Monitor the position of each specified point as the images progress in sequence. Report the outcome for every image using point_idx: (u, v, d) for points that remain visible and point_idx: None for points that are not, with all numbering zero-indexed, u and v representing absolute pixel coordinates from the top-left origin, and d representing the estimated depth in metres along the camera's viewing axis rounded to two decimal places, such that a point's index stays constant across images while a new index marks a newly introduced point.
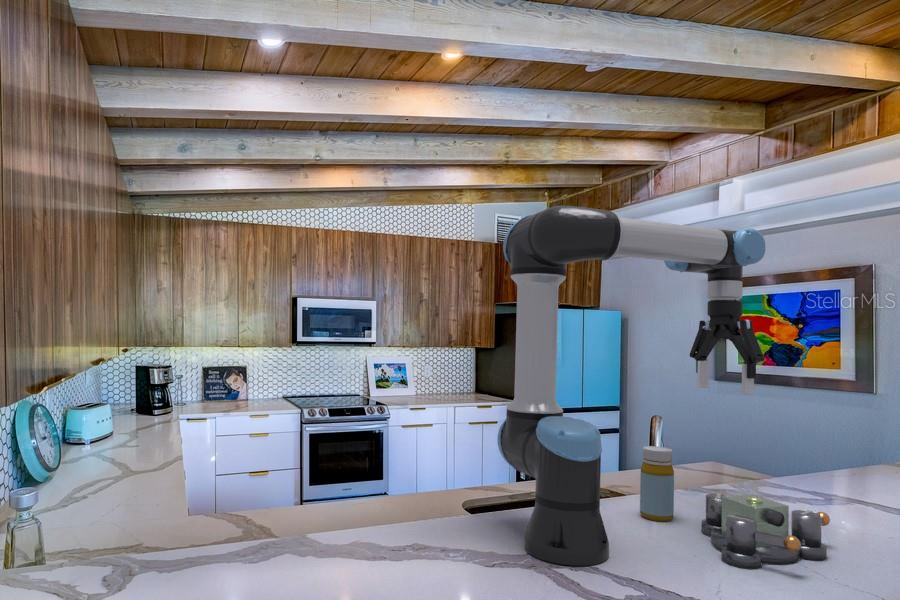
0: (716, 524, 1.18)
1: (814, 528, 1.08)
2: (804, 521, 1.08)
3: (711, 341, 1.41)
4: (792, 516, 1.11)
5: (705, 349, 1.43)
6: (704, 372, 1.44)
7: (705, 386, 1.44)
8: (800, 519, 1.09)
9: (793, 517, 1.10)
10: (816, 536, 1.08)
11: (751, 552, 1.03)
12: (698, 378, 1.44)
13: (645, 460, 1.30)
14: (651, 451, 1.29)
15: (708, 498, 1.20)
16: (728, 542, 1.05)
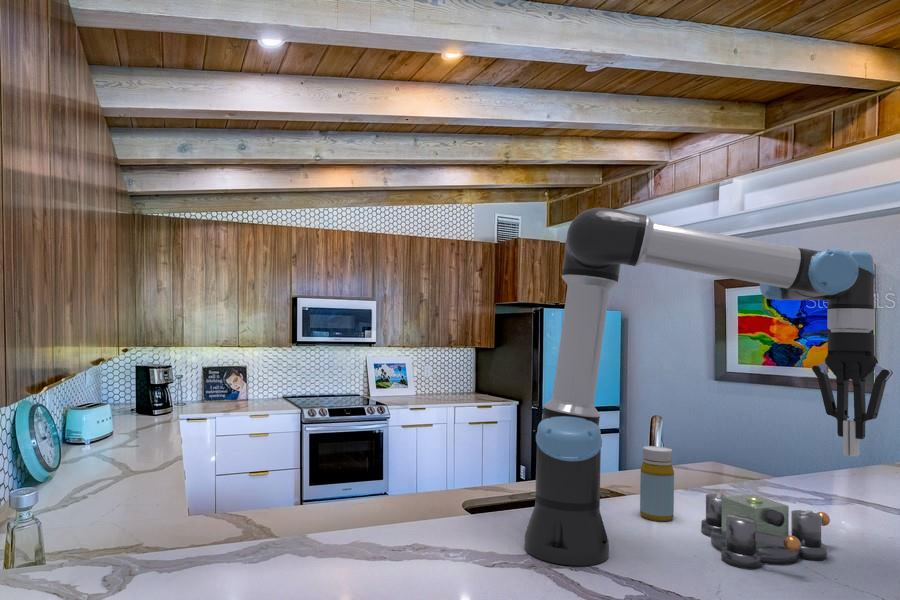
0: (716, 524, 1.18)
1: (814, 528, 1.08)
2: (804, 521, 1.08)
3: (845, 385, 1.13)
4: (792, 516, 1.11)
5: (844, 400, 1.13)
6: (850, 436, 1.13)
7: None
8: (800, 519, 1.09)
9: (793, 517, 1.10)
10: (816, 536, 1.08)
11: (751, 552, 1.03)
12: (844, 443, 1.12)
13: (645, 460, 1.30)
14: (651, 451, 1.29)
15: (708, 498, 1.20)
16: (728, 542, 1.05)
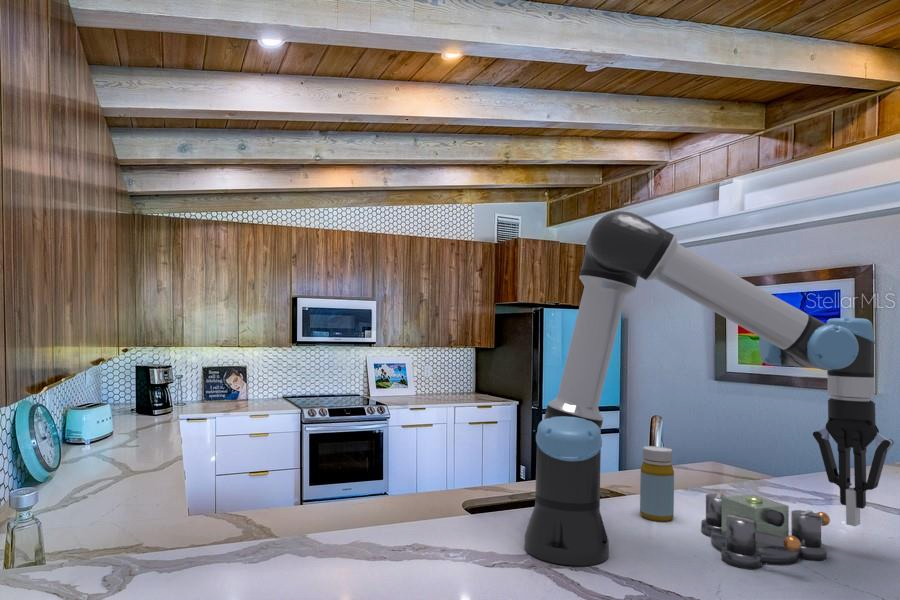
0: (716, 524, 1.18)
1: (814, 528, 1.08)
2: (804, 521, 1.08)
3: (846, 453, 1.12)
4: (792, 516, 1.11)
5: (846, 468, 1.12)
6: None
7: None
8: (800, 519, 1.09)
9: (793, 517, 1.10)
10: (816, 536, 1.08)
11: (751, 552, 1.03)
12: (847, 512, 1.11)
13: (645, 460, 1.30)
14: (651, 451, 1.29)
15: (708, 498, 1.20)
16: (728, 542, 1.05)
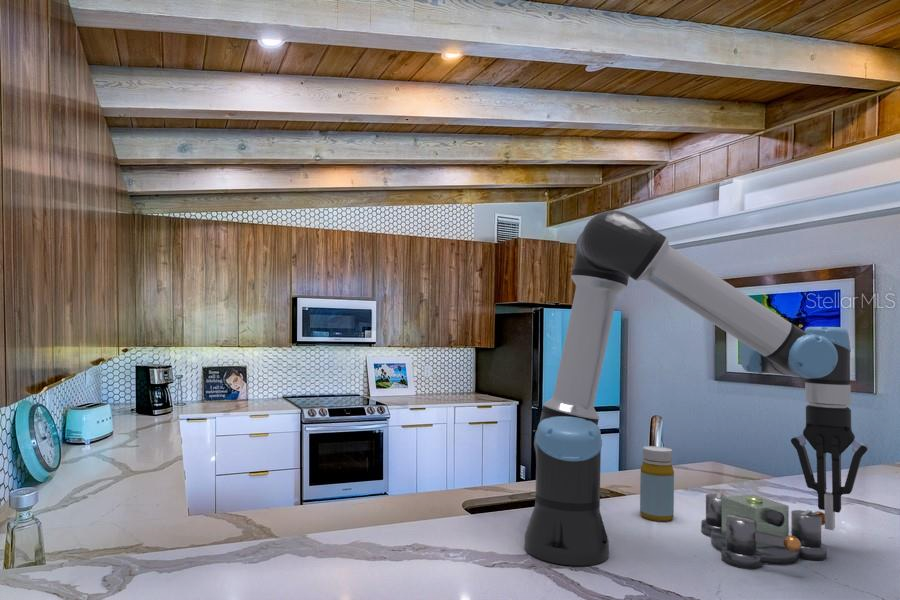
0: (716, 524, 1.18)
1: (815, 528, 1.08)
2: (805, 521, 1.08)
3: (824, 459, 1.15)
4: (792, 516, 1.11)
5: (824, 473, 1.14)
6: None
7: None
8: (800, 519, 1.09)
9: (793, 517, 1.10)
10: (817, 536, 1.08)
11: (751, 552, 1.03)
12: (826, 517, 1.13)
13: (645, 460, 1.30)
14: (651, 451, 1.29)
15: (708, 498, 1.20)
16: (728, 542, 1.05)
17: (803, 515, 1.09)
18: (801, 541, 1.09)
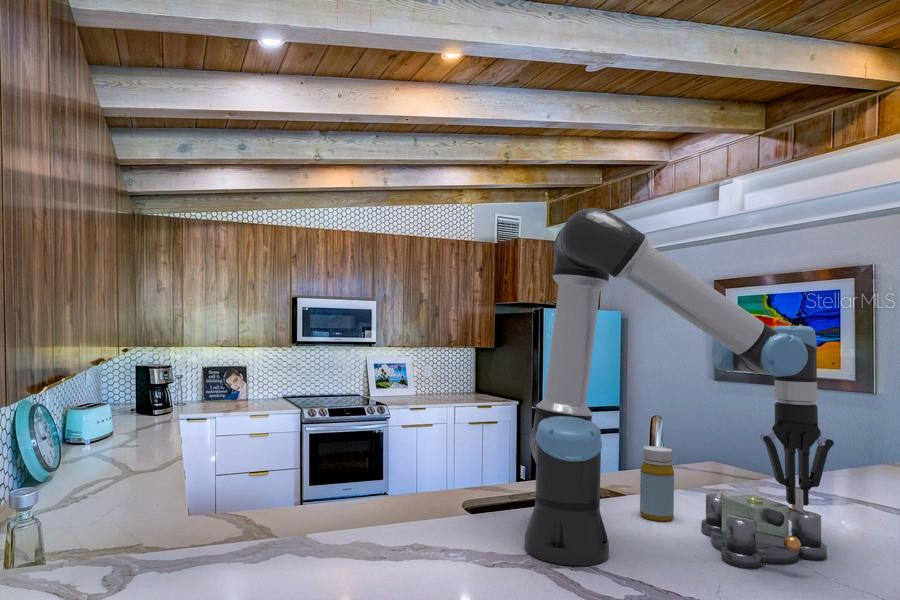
0: (716, 524, 1.18)
1: None
2: (815, 522, 1.08)
3: None
4: (799, 519, 1.09)
5: (794, 468, 1.17)
6: None
7: None
8: (811, 521, 1.08)
9: (802, 520, 1.09)
10: None
11: (751, 552, 1.03)
12: None
13: (645, 460, 1.30)
14: (651, 451, 1.29)
15: (708, 498, 1.20)
16: (728, 542, 1.05)
17: (812, 516, 1.08)
18: (811, 543, 1.08)
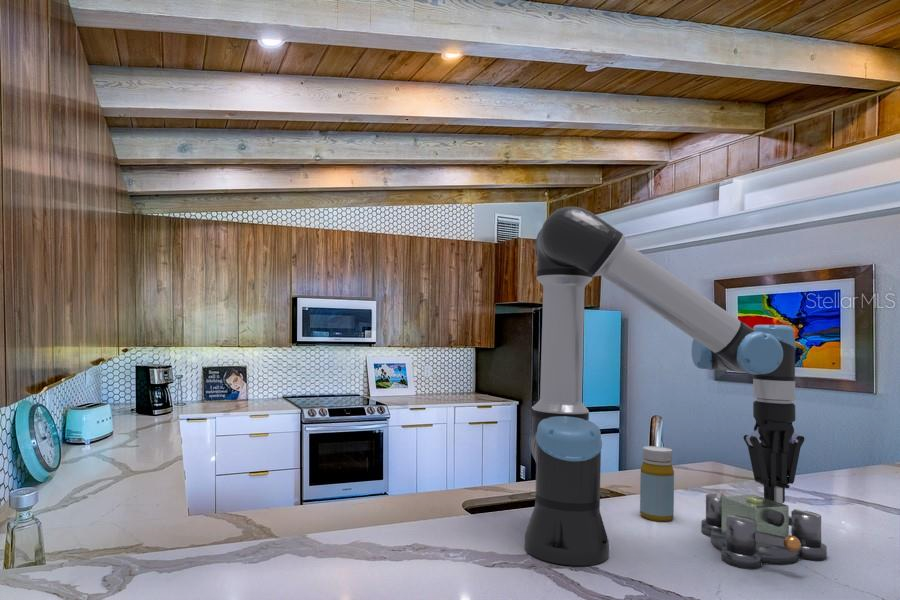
0: (716, 524, 1.18)
1: None
2: (820, 521, 1.09)
3: None
4: (808, 521, 1.08)
5: None
6: None
7: None
8: (818, 521, 1.08)
9: (811, 521, 1.08)
10: None
11: (751, 552, 1.03)
12: None
13: (645, 460, 1.30)
14: (651, 451, 1.29)
15: (708, 498, 1.20)
16: (728, 542, 1.05)
17: (818, 516, 1.09)
18: (818, 543, 1.08)
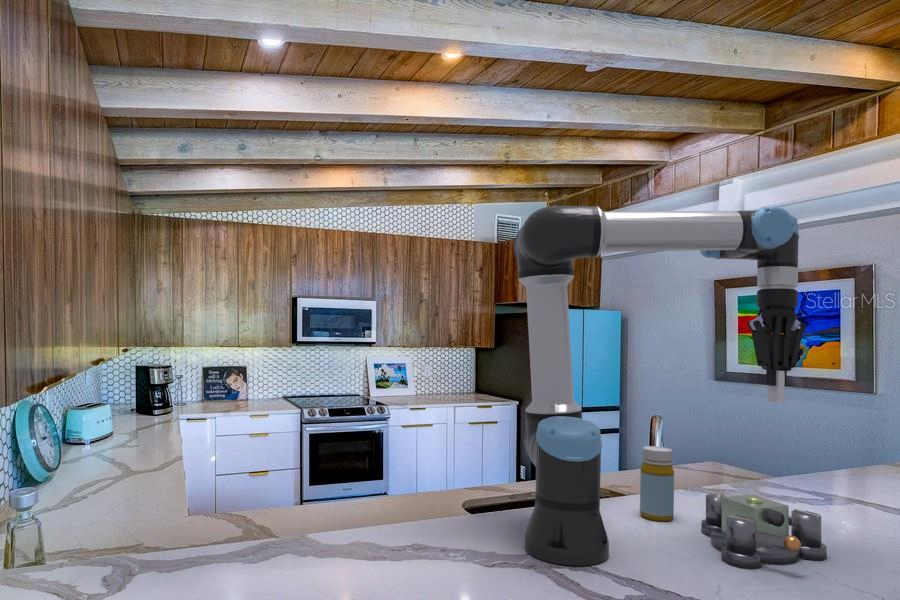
0: (716, 524, 1.18)
1: None
2: (820, 521, 1.09)
3: None
4: (808, 521, 1.08)
5: None
6: None
7: None
8: (818, 521, 1.08)
9: (811, 521, 1.08)
10: None
11: (751, 552, 1.03)
12: (779, 391, 1.21)
13: (645, 460, 1.30)
14: (651, 451, 1.29)
15: (708, 498, 1.20)
16: (728, 542, 1.05)
17: (818, 516, 1.09)
18: (818, 543, 1.08)
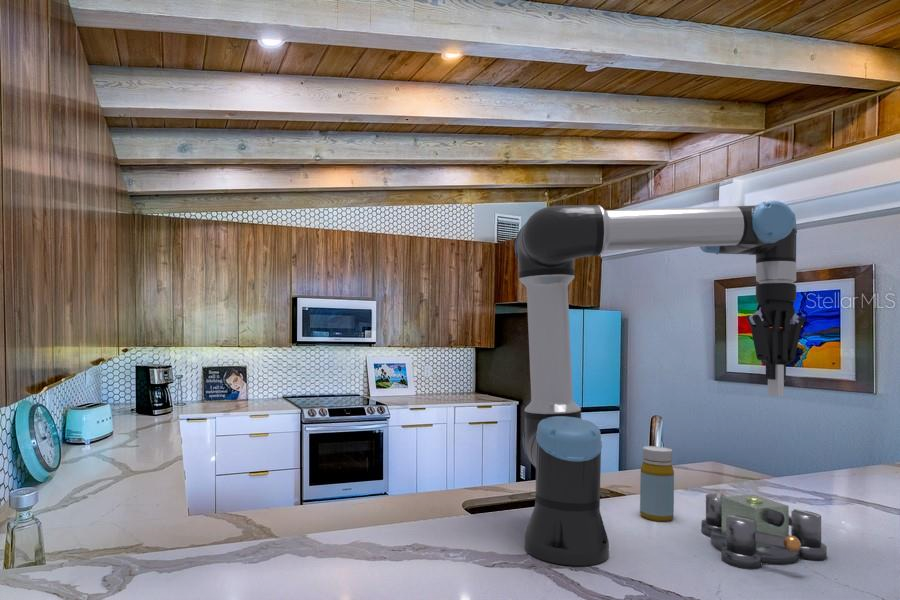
0: (716, 524, 1.18)
1: None
2: (820, 521, 1.09)
3: None
4: (808, 521, 1.08)
5: None
6: None
7: None
8: (818, 521, 1.08)
9: (811, 521, 1.08)
10: None
11: (751, 552, 1.03)
12: (778, 385, 1.22)
13: (645, 460, 1.30)
14: (651, 451, 1.29)
15: (708, 498, 1.20)
16: (728, 542, 1.05)
17: (818, 516, 1.09)
18: (818, 543, 1.08)
